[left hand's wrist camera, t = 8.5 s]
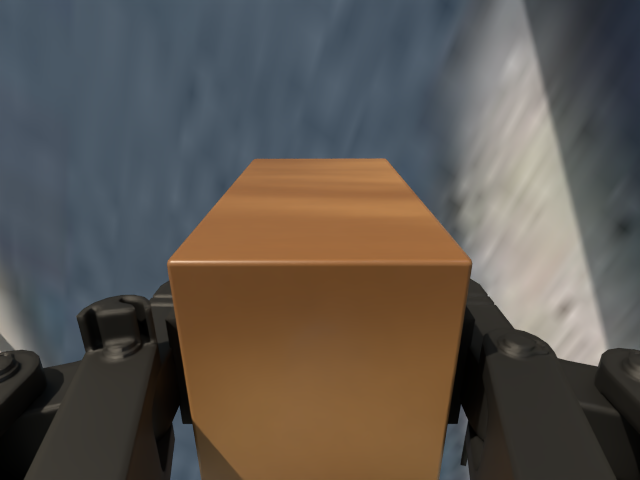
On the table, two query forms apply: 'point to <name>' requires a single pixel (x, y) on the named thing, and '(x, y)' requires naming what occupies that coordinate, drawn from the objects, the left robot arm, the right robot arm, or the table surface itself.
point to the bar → (319, 325)
